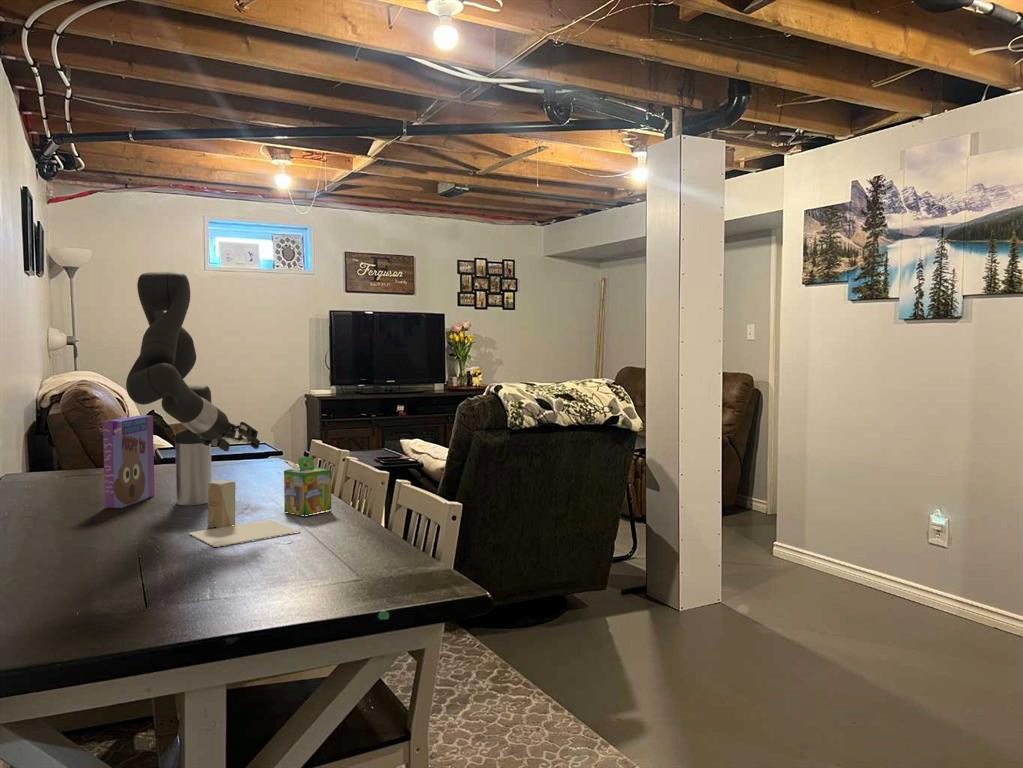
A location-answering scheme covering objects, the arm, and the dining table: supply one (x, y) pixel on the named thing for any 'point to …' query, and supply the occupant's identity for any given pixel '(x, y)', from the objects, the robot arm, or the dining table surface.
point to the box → (221, 503)
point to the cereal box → (128, 460)
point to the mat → (242, 533)
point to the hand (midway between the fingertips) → (242, 446)
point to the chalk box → (307, 489)
